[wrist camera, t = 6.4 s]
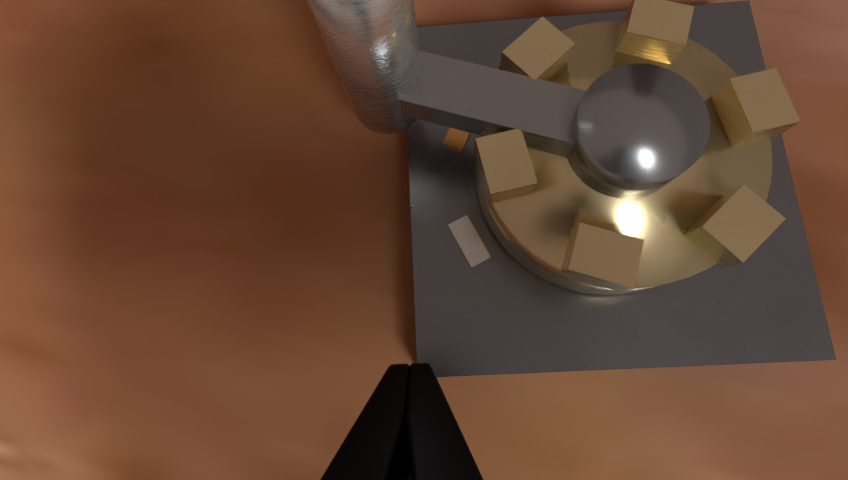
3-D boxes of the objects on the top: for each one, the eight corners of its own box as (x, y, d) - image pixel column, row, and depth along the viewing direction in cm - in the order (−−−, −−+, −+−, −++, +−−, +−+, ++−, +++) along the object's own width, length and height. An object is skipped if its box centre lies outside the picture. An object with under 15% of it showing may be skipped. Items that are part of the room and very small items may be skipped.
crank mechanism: (742, 94, 17) (1094, -203, 8) (699, 330, 15) (1091, 315, 6) (398, 15, 19) (345, -309, 9) (322, 220, 17) (166, 72, 8)
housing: (801, 358, 16) (841, 359, 15) (420, 374, 17) (417, 377, 15) (726, 26, 19) (752, -3, 18) (406, 50, 20) (402, 24, 18)
